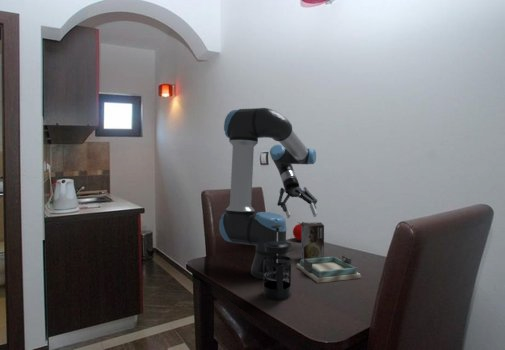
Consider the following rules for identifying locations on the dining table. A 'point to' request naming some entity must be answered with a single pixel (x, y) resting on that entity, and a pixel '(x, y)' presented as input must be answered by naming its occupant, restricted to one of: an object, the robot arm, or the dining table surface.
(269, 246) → the french press
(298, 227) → the tomato
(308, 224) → the coffee box
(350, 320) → the dining table surface
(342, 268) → the tray
